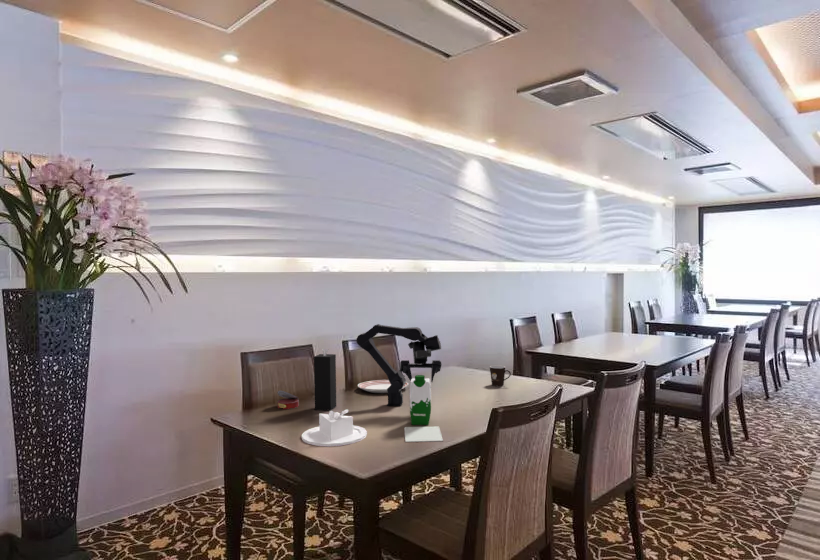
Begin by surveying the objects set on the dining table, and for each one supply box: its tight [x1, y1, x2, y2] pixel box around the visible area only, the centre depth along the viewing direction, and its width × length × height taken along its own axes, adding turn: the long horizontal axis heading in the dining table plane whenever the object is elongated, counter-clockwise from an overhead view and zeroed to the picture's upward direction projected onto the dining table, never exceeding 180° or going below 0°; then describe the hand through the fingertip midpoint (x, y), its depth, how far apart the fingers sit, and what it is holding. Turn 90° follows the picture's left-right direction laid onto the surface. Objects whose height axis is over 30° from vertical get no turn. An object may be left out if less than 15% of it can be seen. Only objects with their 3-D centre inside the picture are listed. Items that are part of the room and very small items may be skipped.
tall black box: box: [313, 347, 337, 411], centre depth 248 cm, size 8×8×28 cm
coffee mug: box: [489, 365, 512, 387], centre depth 293 cm, size 12×9×10 cm
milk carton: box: [409, 374, 432, 426], centre depth 222 cm, size 9×9×20 cm
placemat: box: [403, 425, 444, 443], centre depth 207 cm, size 18×14×1 cm
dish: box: [301, 408, 368, 447], centre depth 206 cm, size 25×25×11 cm
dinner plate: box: [357, 379, 410, 394], centre depth 287 cm, size 28×27×3 cm
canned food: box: [277, 390, 300, 410], centre depth 253 cm, size 11×10×10 cm
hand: (421, 381), depth 239 cm, fingers open, 9 cm apart
